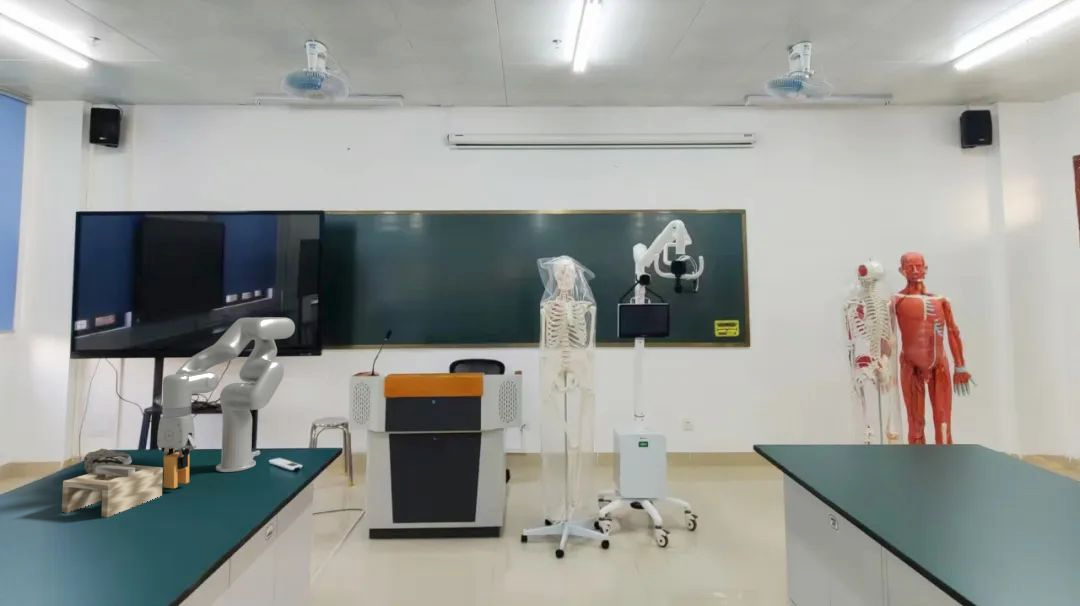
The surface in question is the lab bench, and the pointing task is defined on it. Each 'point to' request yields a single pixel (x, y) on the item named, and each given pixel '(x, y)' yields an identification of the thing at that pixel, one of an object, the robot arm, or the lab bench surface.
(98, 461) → the food container
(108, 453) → the pumice stone
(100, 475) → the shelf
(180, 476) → the tall wooden brick
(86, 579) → the lab bench surface
